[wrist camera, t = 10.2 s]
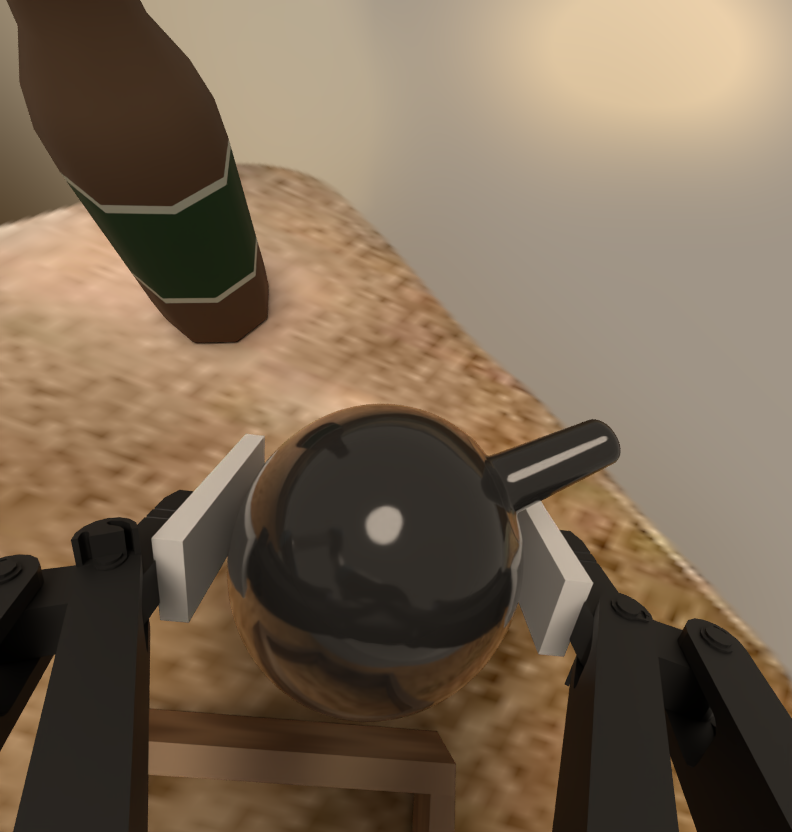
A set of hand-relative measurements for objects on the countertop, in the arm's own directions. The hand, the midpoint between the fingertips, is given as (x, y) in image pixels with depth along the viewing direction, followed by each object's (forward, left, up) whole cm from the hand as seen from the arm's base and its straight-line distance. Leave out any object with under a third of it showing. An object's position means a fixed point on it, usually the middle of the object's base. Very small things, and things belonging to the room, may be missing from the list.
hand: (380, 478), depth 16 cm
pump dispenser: (0, -3, -6) cm, 6 cm away
